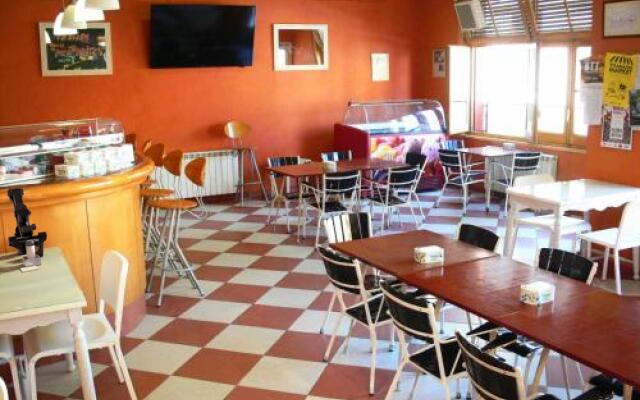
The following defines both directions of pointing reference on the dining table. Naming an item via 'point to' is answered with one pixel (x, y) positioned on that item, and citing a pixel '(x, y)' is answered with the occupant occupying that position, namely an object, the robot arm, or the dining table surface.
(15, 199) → the robot arm
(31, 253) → the salt shaker
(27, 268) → the pad
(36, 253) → the coffee mug
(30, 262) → the motor housing
